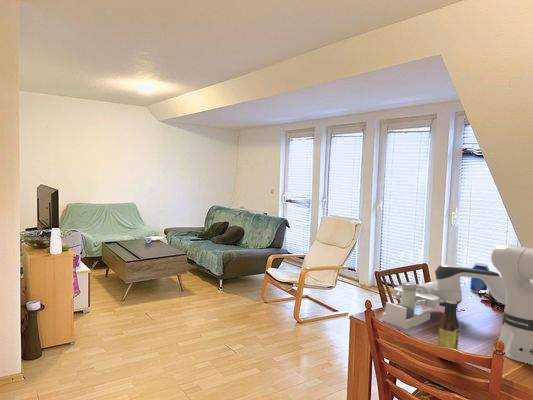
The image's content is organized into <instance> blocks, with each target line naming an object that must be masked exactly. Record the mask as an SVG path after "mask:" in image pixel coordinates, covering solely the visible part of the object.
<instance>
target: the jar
mask: <svg viewBox="0 0 533 400" xmlns="http://www.w3.org/2000/svg"><path fill="white" fill-rule="evenodd" d="M401 285H402V298H401V299H400V305H401V306H404V307H407V308H411V309H413V317H414V314H415V309H416V308H415V306H416V303H415V295H416V289H417V284H416V283H414V282H410V281H403V282H401Z"/></svg>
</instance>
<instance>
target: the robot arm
mask: <svg viewBox="0 0 533 400" xmlns="http://www.w3.org/2000/svg"><path fill="white" fill-rule="evenodd" d="M490 259H491V263H492V265H493V267H494V268H496V270H497V271H498V272H499V273H498V272H495V271H493V270H492V271H491V270H489V271H487V270H480V269H472V267H470V268H469V267H463V266H457V265H453V264H440V265H439V266H438V267H437V268H436V269H435V271H434V274H435V278H436V281H429V282H425V283H421V284H419V283H418V284H417V289H416V295H415V306H425V307H429V308H431V309H436V308H438V307H439V306H440V307H444V308H445V305H444V303H445V301H446V300H450V301H455V302H457V306H458V305H459V304H461V302H463V295H462V293H463V292H462V289H461V288H462V287H461V286H462V285H461V278H462V277H465V278H471V277H472V278H479V279H481V280H483V281H484V282H485V284H486V286H487V290H488V292H489V291H490V293H491V295H492V296H493V297H494V298H495V299H496V300H497V301H498V302H500V303H502V304H501V305H505V307H504V309H505V310H503V312H502V317H501V318H502V319H501V323H502V328H501V333H500V336H499V337H498V341H499V340H501V341H503V343H504V344H505V350H504V352H505V354H504V355H505V356H506V357H507V358H508V359H510V360H514V361H517V362H520V363H523V362H524V364H527V363H528V364H527V365H530V364H531V366H533V248H531V247H526V246H523V245H522V246H521V245H518V244H499V245H497V246H495V247H494V249H493V250H492V251H491V256H490ZM392 296H393V297H395V299H397V300H401V298H402V284H401V285H398V286H395V287H394V288H393V290H392Z"/></svg>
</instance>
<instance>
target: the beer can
mask: <svg viewBox="0 0 533 400" xmlns="http://www.w3.org/2000/svg"><path fill="white" fill-rule="evenodd" d="M471 268H472V269H480V270H487V271H490V269H489V267H488V264H486V263H485V264H484V263H479V262H475V263H474V264H473V266H472V267H471ZM469 289H470V291H471V292H472V293H474V294H476V295H477V294H478V293H479V291H480V290H487V291H488V287H487V286H486V284H485V282H484V281H483V280H481V279H479V278H472V277H470V287H469ZM478 295H479V294H478Z"/></svg>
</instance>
